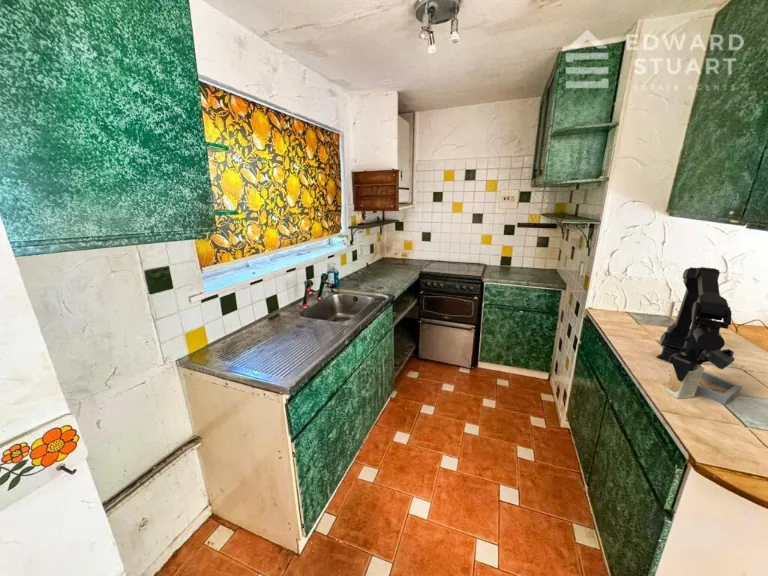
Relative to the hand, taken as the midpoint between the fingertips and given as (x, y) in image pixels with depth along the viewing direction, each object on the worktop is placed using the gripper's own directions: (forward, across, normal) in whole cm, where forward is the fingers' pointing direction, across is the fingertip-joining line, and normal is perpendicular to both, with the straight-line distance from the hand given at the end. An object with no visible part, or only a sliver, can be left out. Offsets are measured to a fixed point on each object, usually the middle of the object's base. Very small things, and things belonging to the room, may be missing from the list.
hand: (685, 377), depth 104 cm
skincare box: (+7, 0, 0) cm, 7 cm away
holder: (+7, +13, -3) cm, 15 cm away
